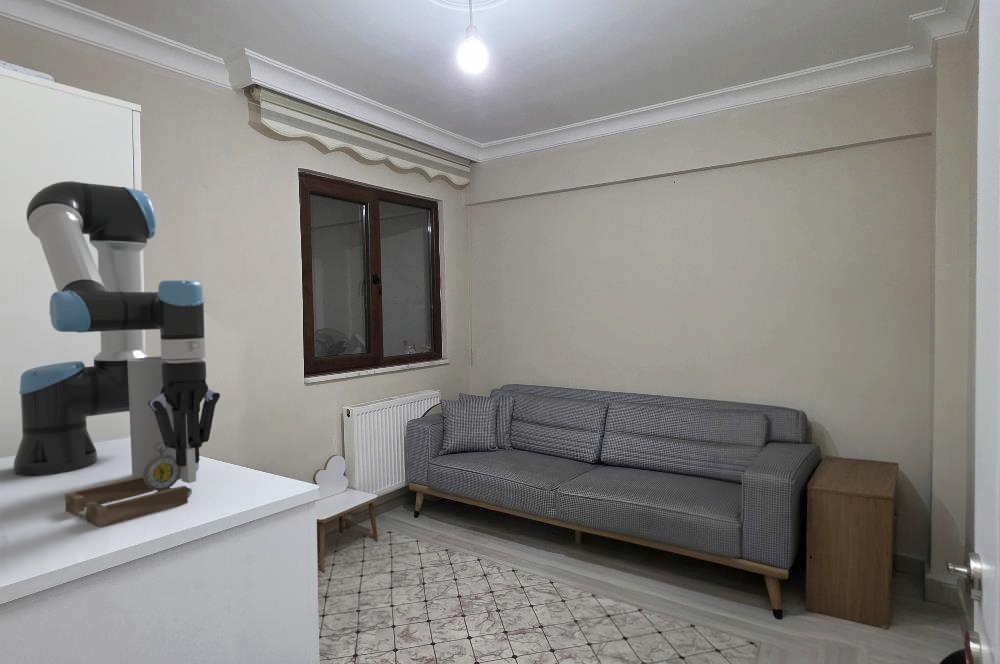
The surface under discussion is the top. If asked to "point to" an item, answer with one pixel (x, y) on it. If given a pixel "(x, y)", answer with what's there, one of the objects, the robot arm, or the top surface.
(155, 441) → the cylinder vase
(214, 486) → the top surface
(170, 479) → the pocket watch
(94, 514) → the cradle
